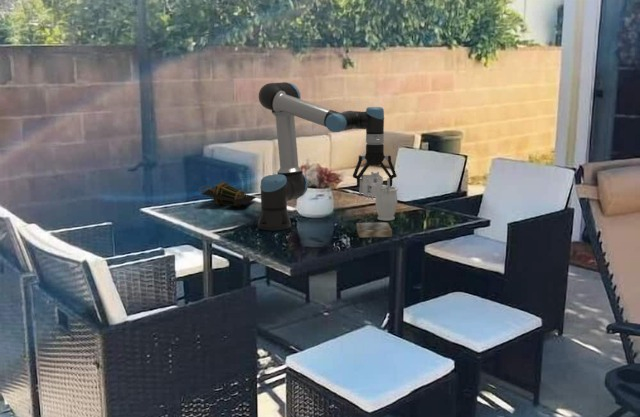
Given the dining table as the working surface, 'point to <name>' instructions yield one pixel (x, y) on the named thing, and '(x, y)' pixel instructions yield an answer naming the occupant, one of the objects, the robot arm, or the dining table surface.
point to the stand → (374, 230)
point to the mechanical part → (373, 185)
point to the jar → (387, 205)
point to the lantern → (227, 195)
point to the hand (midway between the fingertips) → (374, 193)
